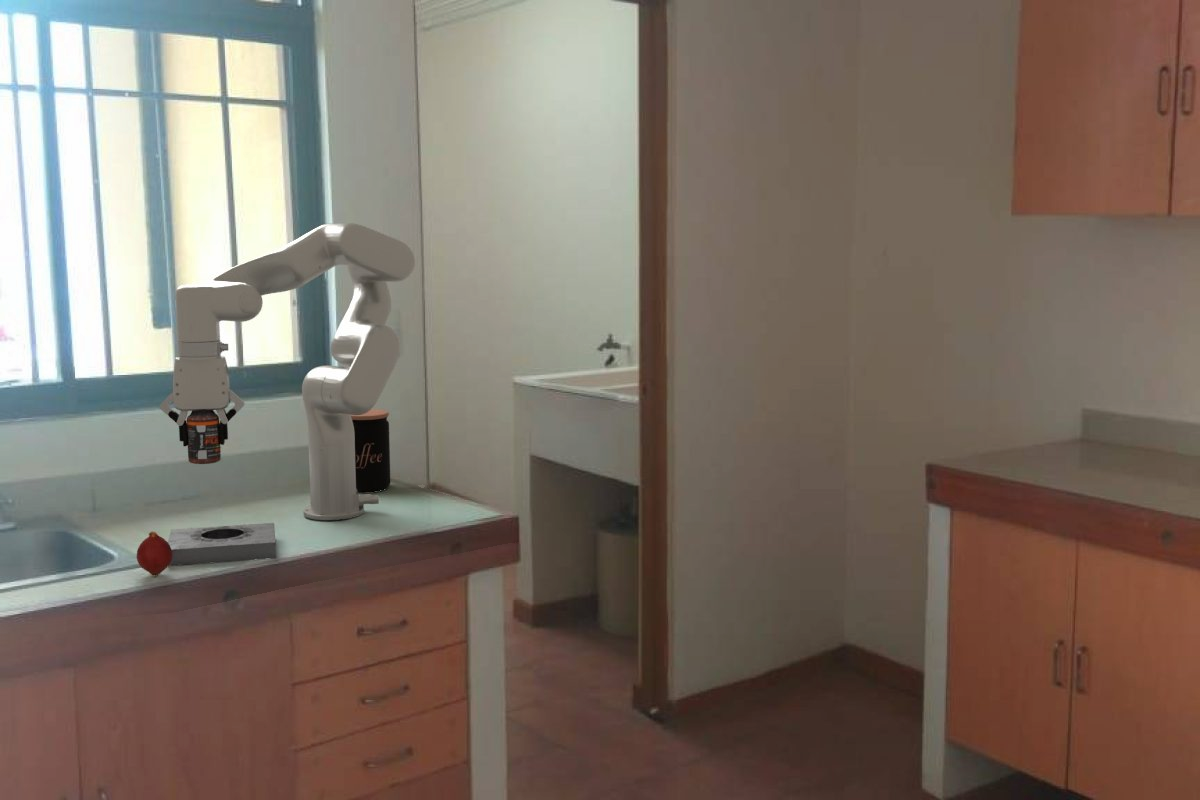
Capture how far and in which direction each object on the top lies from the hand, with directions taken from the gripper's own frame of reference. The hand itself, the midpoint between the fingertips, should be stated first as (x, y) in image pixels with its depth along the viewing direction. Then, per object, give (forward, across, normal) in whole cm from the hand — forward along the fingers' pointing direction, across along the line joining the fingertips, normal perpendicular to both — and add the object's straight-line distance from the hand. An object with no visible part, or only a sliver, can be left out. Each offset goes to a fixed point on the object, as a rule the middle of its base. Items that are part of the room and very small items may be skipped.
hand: (204, 443), depth 225 cm
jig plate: (+19, -3, +7) cm, 21 cm away
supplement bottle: (+4, 0, 0) cm, 4 cm away
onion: (+20, +7, +21) cm, 29 cm away
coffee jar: (+20, -32, -41) cm, 56 cm away
